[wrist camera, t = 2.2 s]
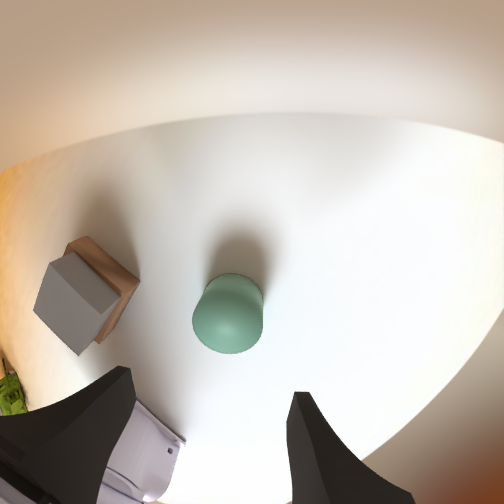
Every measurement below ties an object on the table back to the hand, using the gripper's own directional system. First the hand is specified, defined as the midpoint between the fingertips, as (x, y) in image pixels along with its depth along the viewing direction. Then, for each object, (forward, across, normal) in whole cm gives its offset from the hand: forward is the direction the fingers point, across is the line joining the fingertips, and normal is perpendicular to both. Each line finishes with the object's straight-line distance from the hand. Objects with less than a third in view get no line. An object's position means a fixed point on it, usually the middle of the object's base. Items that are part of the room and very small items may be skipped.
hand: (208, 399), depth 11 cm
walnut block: (+11, +12, 0) cm, 16 cm away
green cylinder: (+10, 0, 0) cm, 10 cm away
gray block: (+8, +11, 0) cm, 14 cm away
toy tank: (+11, +31, +20) cm, 38 cm away
